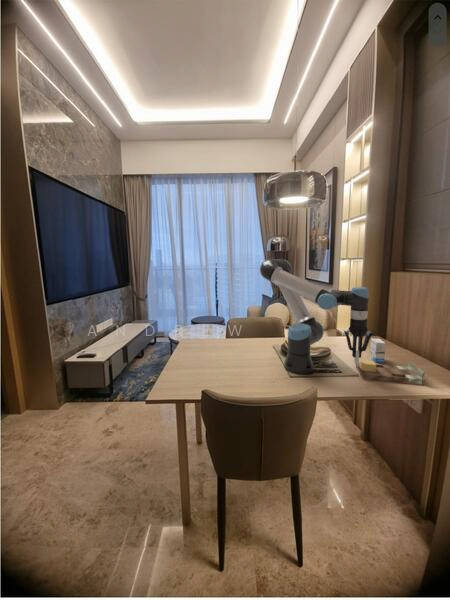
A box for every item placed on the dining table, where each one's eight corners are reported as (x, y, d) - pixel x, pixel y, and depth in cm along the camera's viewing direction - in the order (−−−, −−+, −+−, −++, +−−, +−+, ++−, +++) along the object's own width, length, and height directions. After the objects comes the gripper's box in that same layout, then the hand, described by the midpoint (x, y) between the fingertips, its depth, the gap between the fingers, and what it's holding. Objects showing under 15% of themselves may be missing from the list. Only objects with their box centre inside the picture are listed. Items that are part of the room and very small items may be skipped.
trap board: (363, 379, 119) (364, 367, 118) (355, 367, 133) (356, 356, 132) (423, 384, 113) (424, 372, 112) (409, 371, 126) (410, 360, 126)
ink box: (384, 363, 137) (386, 343, 135) (374, 362, 138) (376, 342, 136) (378, 357, 145) (379, 338, 144) (369, 357, 146) (370, 338, 145)
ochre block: (362, 370, 123) (362, 363, 123) (359, 366, 128) (359, 360, 127) (375, 371, 122) (376, 364, 121) (372, 367, 126) (372, 360, 126)
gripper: (345, 319, 120) (343, 365, 124) (375, 320, 117) (372, 367, 120) (342, 316, 127) (341, 359, 131) (371, 317, 124) (368, 361, 127)
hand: (356, 363), depth 126 cm, fingers closed
